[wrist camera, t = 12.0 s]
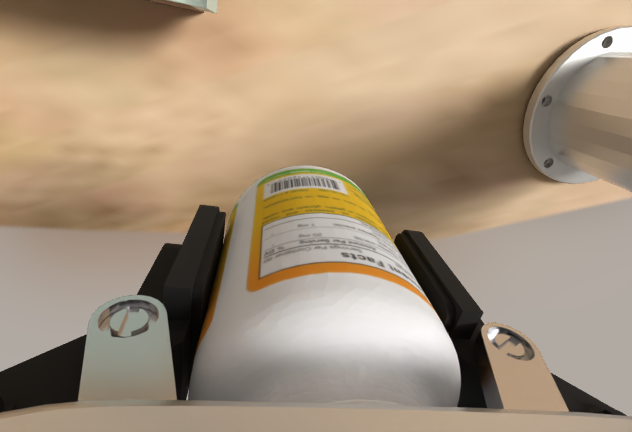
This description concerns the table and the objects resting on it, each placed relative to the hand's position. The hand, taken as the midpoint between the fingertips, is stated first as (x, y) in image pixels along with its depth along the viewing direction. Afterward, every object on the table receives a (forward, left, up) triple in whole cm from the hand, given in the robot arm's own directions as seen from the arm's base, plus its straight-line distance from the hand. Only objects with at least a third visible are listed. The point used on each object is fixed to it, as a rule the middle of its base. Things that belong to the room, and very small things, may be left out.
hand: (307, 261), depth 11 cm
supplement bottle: (0, 0, -2) cm, 2 cm away
